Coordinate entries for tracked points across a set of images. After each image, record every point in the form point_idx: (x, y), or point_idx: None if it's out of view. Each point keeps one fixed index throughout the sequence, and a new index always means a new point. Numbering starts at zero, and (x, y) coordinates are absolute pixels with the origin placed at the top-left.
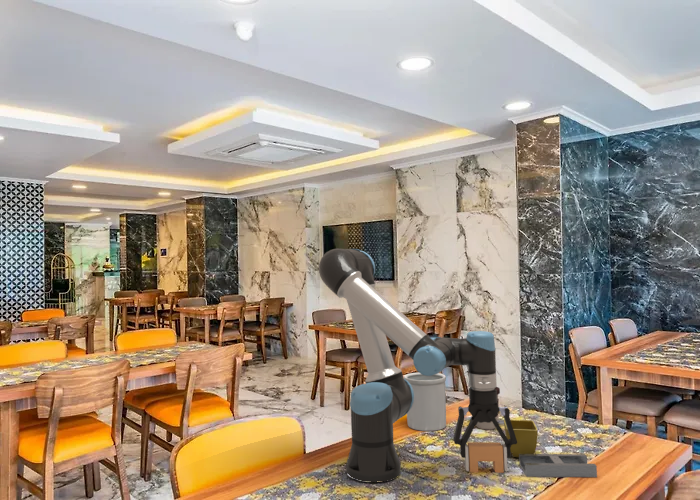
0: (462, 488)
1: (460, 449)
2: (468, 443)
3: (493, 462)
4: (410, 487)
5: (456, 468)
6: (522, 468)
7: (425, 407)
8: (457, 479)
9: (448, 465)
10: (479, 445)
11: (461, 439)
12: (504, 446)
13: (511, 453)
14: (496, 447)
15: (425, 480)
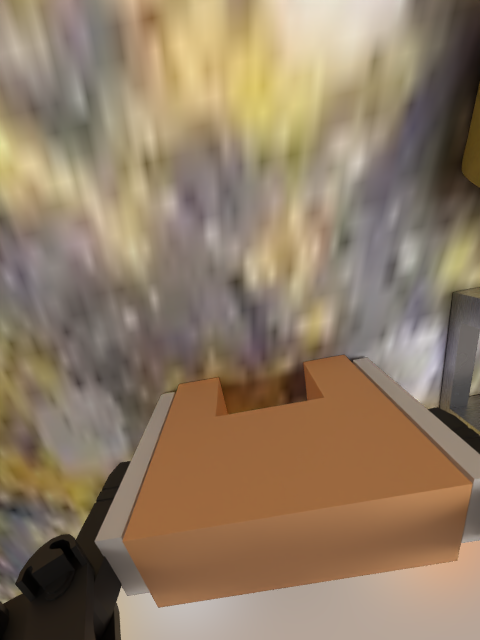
0: None
1: (92, 516)
2: (138, 561)
3: (315, 394)
4: (5, 570)
5: (122, 403)
6: (451, 359)
7: None
8: None
9: (71, 378)
10: (248, 575)
11: (39, 638)
12: (475, 526)
13: (471, 177)
14: (395, 560)
15: (31, 524)
